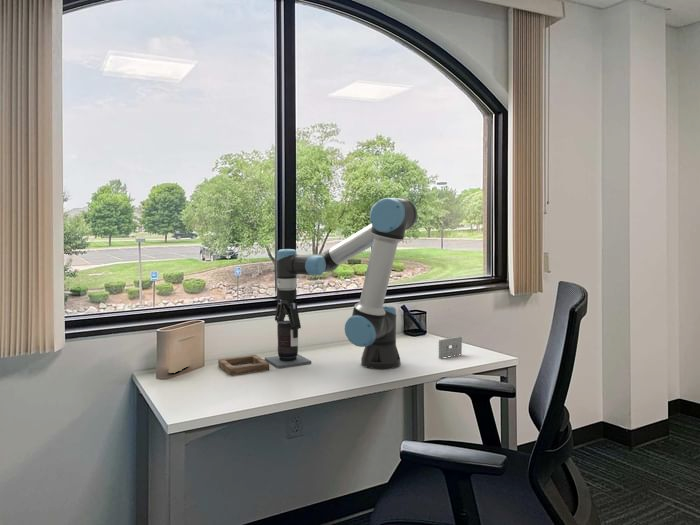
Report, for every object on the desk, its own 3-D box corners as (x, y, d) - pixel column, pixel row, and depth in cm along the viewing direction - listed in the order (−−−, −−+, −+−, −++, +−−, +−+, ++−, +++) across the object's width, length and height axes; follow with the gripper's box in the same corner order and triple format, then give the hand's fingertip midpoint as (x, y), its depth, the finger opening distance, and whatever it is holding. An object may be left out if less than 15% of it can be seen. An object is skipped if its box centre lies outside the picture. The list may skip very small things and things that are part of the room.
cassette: (440, 359, 224) (440, 340, 223) (437, 358, 225) (437, 339, 225) (462, 355, 230) (462, 337, 230) (459, 354, 232) (459, 336, 231)
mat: (311, 363, 217) (311, 361, 217) (277, 368, 210) (277, 365, 210) (296, 355, 229) (296, 353, 229) (264, 360, 223) (264, 357, 223)
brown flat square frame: (269, 370, 208) (269, 363, 208) (230, 375, 201) (230, 368, 201) (255, 360, 221) (255, 354, 221) (218, 365, 214) (218, 359, 214)
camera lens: (301, 360, 218) (301, 322, 217) (282, 363, 214) (282, 324, 213) (293, 355, 225) (292, 319, 224) (274, 358, 221) (274, 321, 220)
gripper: (266, 285, 227) (267, 337, 228) (290, 293, 205) (291, 350, 207) (283, 284, 230) (284, 335, 232) (309, 292, 209) (309, 347, 210)
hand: (287, 342), depth 219 cm, fingers open, 13 cm apart
